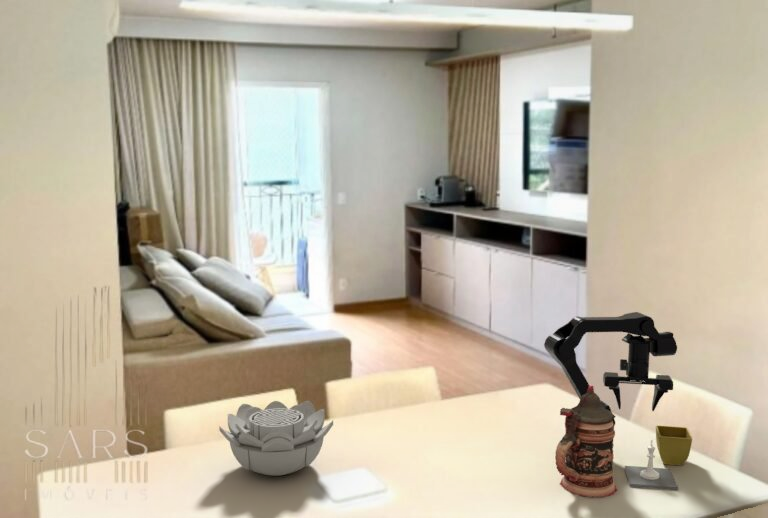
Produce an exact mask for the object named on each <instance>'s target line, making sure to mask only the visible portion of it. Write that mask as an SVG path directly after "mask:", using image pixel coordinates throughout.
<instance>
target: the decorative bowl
mask: <svg viewBox="0 0 768 518" xmlns="http://www.w3.org/2000/svg"><path fill="white" fill-rule="evenodd" d="M324 423H325V408H321V409H319V410H317V411H316V408H315V406H314V404H313V403H312V402H311V401H309V400H305V401H301V403H299V404H294V405H293V406H291V407H290V408H288V407H287V406H286V405H285V404H284V403H283V402H281V401H279V400H274V401H272V402H269V404H267V406H266V407H265V408H264V409H261V408H260V407H257V406H252V405H251V404H248V403H242V404H241V405H239V407H238V409H237V410H236V415H235V414H233V413H227V428H228V430H229V431H227V430H225V429H224V428H223V427H221V426H220V425H219V427H218V428H219V431H218V432H220V433H221V435H222V436H223V437H224V438H225V440H227V441H228V442H229V447H230V449H231V452H232V455H233V456H234V458H235V459H236V461H237V462H238V464H239V465H241V466H242V467H243V469H246V470H247V471H249V470H250V471H253V472H254V473H255V472H256V473H257V474H259V475H260V474H261V475H265V476H283V475H289V474H293V473H296V472H297V471H299V470H301V469H303V468H304V467H309V466H310V465H311V464H312V463H313V462H314V461H315V460H316V458H317V457H318V455H319V454H320V452H321V449H322V447H323V443H324V438H325V437H326V435H327V434H328V433H329V432H330V430H331V429H332V427H333V426H334V419H332V421H330V422H329V423H328V424H327V425H326V426H324Z"/></svg>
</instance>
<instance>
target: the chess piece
mask: <svg viewBox="0 0 768 518" xmlns="http://www.w3.org/2000/svg"><path fill="white" fill-rule="evenodd" d="M646 449H647V452H648V453H647V454H646V457H647V458H648V461H647V466H646V467H647V468H646V470H642V471H641V473H640V475H641V476H642V477H643V478H646V479H651V480H654V479H658V478H659V473H658V472H656V471H655V470H654V469H653V468H654V461H653V460H654V458H655V457H656V455H655V454H654V453H655V451H656V446H654V445H653V439H650V445H648V446H647V448H646Z"/></svg>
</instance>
